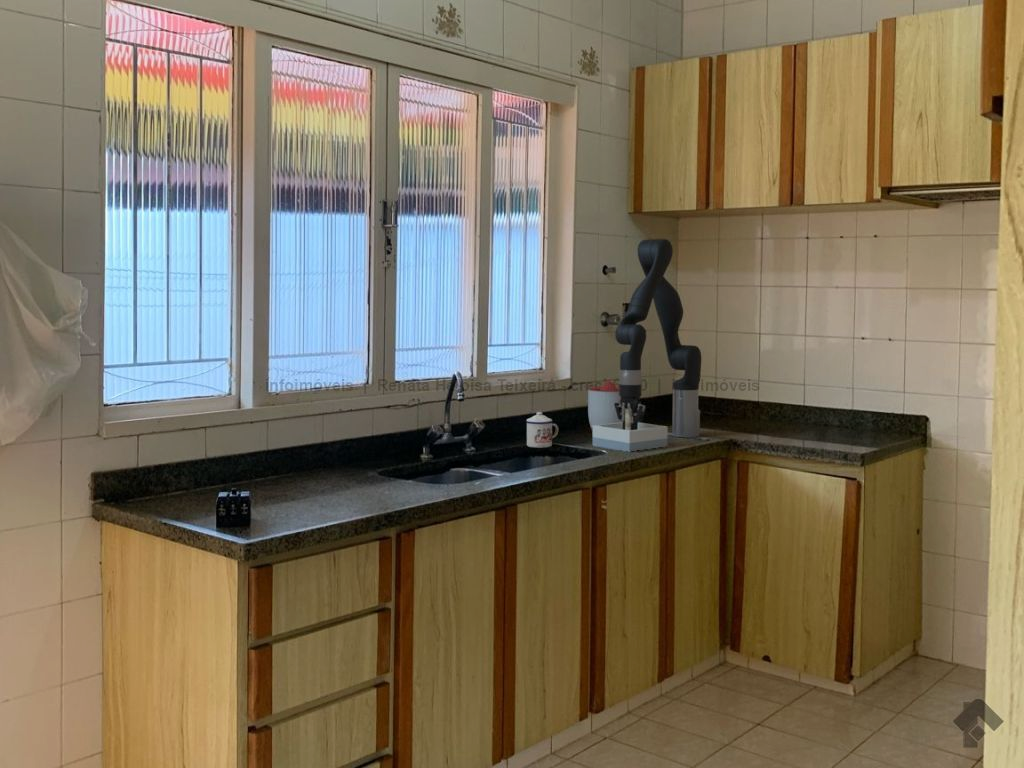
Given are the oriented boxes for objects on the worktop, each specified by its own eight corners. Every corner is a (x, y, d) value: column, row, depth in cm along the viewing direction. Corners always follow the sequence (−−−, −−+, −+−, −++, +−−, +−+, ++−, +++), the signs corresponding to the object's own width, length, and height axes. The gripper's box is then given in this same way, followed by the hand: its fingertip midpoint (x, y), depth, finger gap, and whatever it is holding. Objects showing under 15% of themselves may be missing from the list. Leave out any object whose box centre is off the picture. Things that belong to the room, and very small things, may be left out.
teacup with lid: (534, 448, 350) (534, 414, 349) (521, 445, 358) (521, 411, 357) (564, 445, 356) (564, 412, 355) (550, 442, 364) (550, 409, 363)
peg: (629, 442, 357) (630, 407, 356) (636, 443, 354) (636, 408, 353) (623, 443, 355) (623, 408, 354) (629, 444, 353) (629, 409, 351)
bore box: (630, 440, 368) (630, 421, 367) (667, 446, 353) (667, 426, 353) (592, 445, 356) (592, 425, 356) (629, 452, 342) (629, 431, 342)
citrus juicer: (619, 438, 374) (619, 383, 372) (579, 434, 384) (579, 380, 382) (641, 433, 386) (641, 380, 384) (601, 429, 397) (602, 377, 395)
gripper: (653, 383, 350) (652, 434, 351) (623, 380, 361) (623, 430, 362) (637, 385, 345) (636, 436, 347) (608, 382, 356) (607, 431, 358)
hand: (629, 432), depth 355 cm, fingers closed on peg, 3 cm apart
